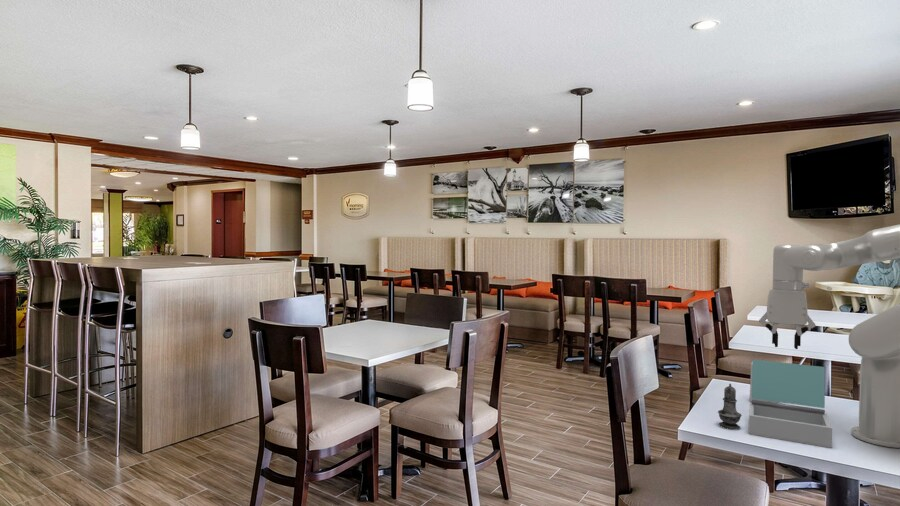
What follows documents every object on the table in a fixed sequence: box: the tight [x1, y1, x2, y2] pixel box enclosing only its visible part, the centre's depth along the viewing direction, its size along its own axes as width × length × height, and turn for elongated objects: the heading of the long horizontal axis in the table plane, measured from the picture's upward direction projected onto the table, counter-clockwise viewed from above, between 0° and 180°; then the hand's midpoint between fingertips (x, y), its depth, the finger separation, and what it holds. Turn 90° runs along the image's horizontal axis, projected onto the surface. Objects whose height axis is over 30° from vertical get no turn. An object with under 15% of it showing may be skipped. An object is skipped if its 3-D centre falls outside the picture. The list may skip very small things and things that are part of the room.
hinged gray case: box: [748, 402, 833, 449], centre depth 139 cm, size 18×12×5 cm, turn 59°
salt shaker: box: [717, 383, 742, 430], centre depth 145 cm, size 6×6×12 cm
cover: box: [751, 358, 826, 414], centre depth 145 cm, size 17×13×1 cm
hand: (786, 346), depth 155 cm, fingers open, 4 cm apart
